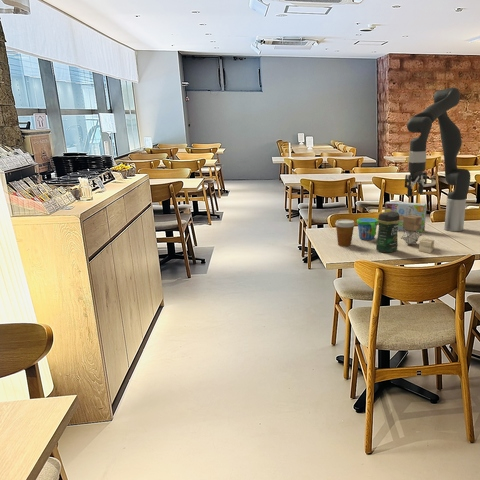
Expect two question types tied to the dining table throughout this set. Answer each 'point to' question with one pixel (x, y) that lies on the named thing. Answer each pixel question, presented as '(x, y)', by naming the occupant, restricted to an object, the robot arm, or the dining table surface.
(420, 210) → the snack box
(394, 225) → the coffee jar
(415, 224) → the walnut block
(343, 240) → the disposable coffee cup
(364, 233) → the snack cup
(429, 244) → the maple block
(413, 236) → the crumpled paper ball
